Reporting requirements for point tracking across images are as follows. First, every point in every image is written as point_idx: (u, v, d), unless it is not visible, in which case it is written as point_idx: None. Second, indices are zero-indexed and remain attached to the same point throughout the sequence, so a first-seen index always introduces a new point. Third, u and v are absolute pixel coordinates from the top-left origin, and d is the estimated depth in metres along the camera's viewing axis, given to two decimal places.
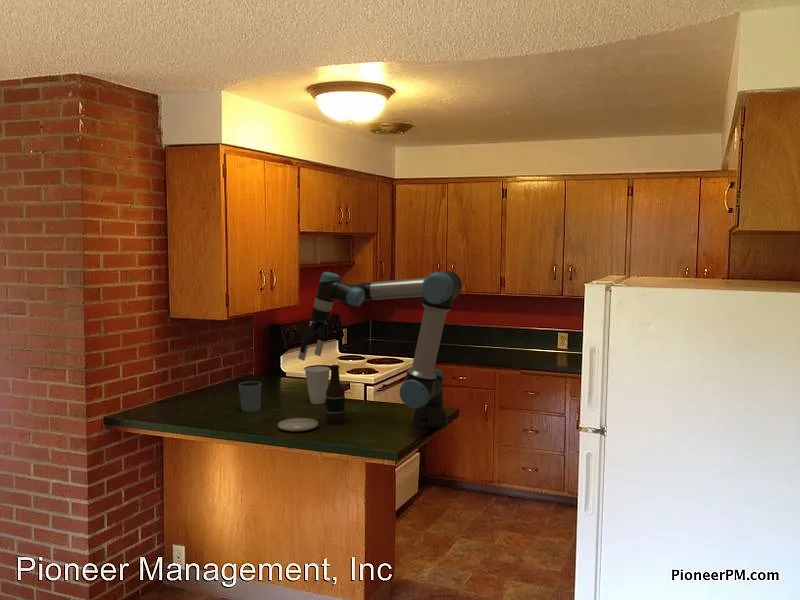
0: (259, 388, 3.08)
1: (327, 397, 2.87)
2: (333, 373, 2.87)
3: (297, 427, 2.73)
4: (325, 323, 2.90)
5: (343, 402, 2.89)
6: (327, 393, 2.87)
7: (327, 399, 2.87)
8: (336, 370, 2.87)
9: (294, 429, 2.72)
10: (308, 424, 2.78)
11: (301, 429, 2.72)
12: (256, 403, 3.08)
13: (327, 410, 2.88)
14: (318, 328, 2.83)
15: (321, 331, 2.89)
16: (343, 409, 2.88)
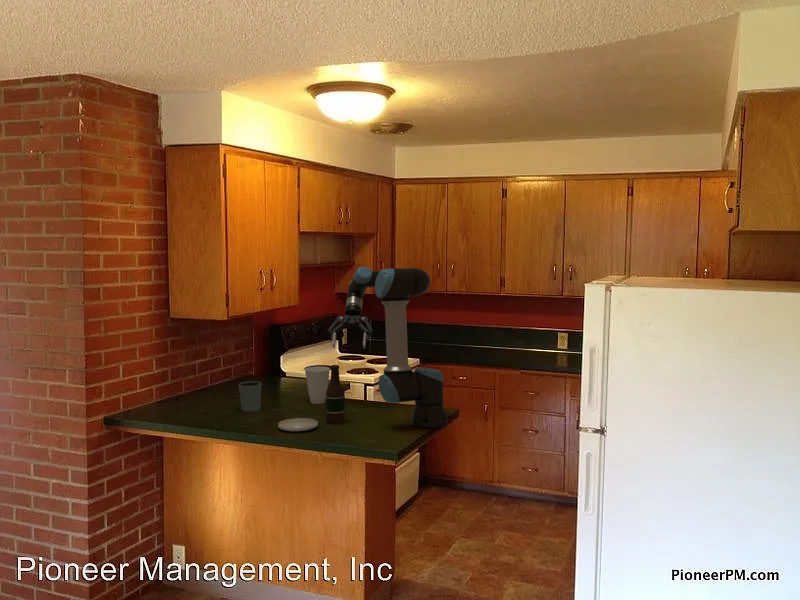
0: (259, 388, 3.08)
1: (327, 397, 2.87)
2: (333, 373, 2.87)
3: (297, 427, 2.73)
4: (363, 319, 3.11)
5: (343, 402, 2.89)
6: (327, 393, 2.87)
7: (327, 399, 2.87)
8: (336, 370, 2.87)
9: (294, 429, 2.72)
10: (308, 424, 2.78)
11: (301, 429, 2.72)
12: (256, 403, 3.08)
13: (327, 410, 2.88)
14: (346, 319, 3.10)
15: (358, 325, 3.09)
16: (343, 409, 2.88)
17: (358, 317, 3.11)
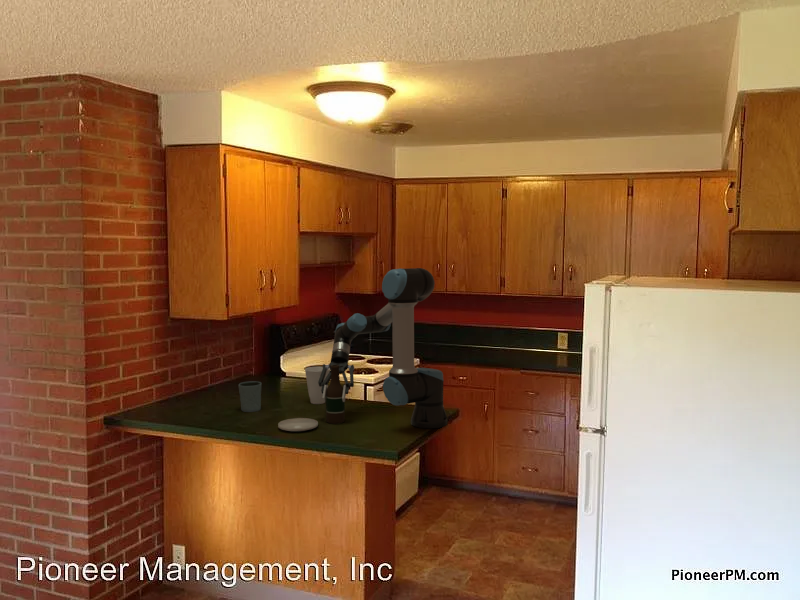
0: (259, 388, 3.08)
1: (327, 397, 2.87)
2: (333, 373, 2.87)
3: (297, 427, 2.73)
4: (349, 368, 2.95)
5: (343, 402, 2.89)
6: (327, 393, 2.87)
7: (327, 398, 2.87)
8: (336, 370, 2.87)
9: (294, 429, 2.72)
10: (308, 424, 2.78)
11: (301, 429, 2.72)
12: (256, 403, 3.08)
13: (327, 410, 2.88)
14: None
15: (342, 374, 2.93)
16: (343, 409, 2.88)
17: (345, 364, 2.95)
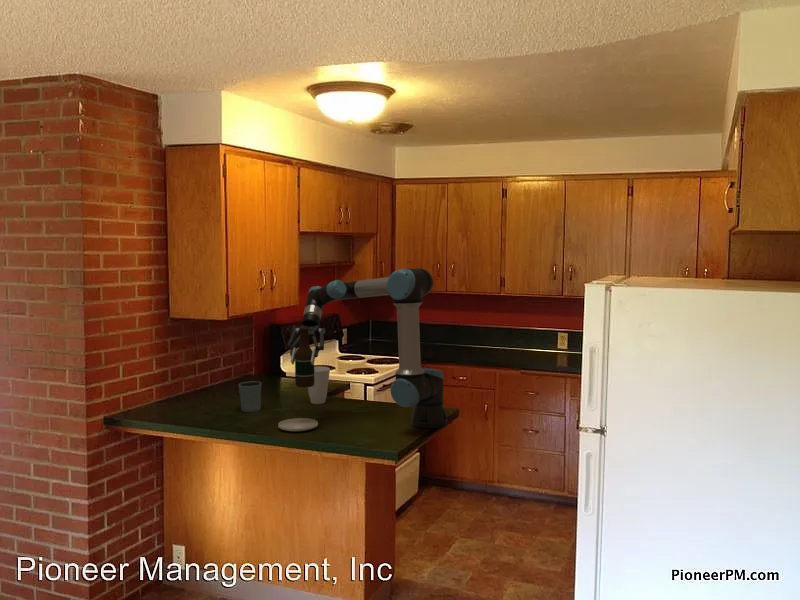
0: (259, 388, 3.08)
1: (296, 360, 2.79)
2: (302, 335, 2.79)
3: (297, 427, 2.73)
4: (320, 331, 2.87)
5: (313, 365, 2.81)
6: (296, 356, 2.79)
7: (296, 362, 2.80)
8: (305, 332, 2.79)
9: (294, 429, 2.72)
10: (308, 424, 2.78)
11: (301, 429, 2.72)
12: (256, 403, 3.08)
13: (296, 373, 2.80)
14: None
15: None
16: (312, 373, 2.81)
17: (315, 328, 2.87)
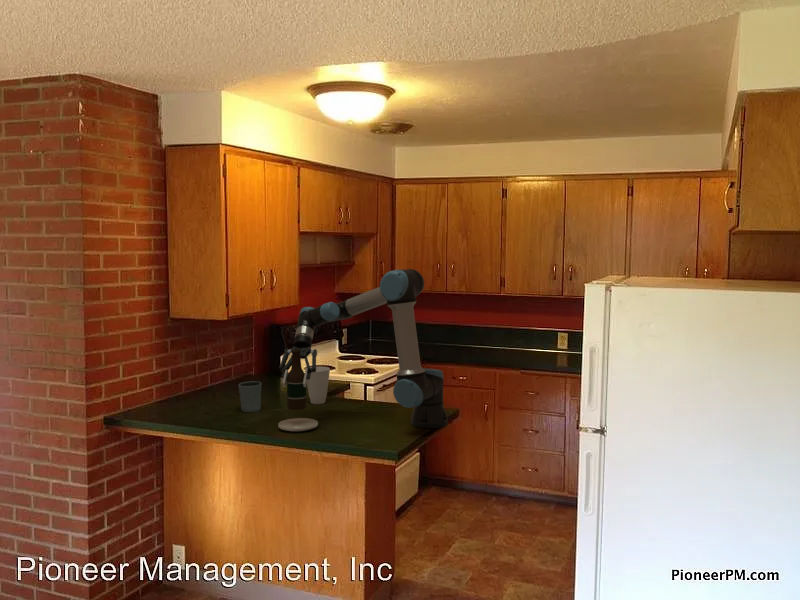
0: (259, 388, 3.08)
1: (288, 382, 2.77)
2: (294, 357, 2.76)
3: (297, 427, 2.73)
4: (312, 352, 2.84)
5: (305, 387, 2.79)
6: (288, 378, 2.77)
7: (288, 384, 2.77)
8: (297, 354, 2.77)
9: (294, 429, 2.72)
10: (308, 424, 2.78)
11: (301, 429, 2.72)
12: (256, 403, 3.08)
13: (288, 396, 2.78)
14: None
15: (304, 358, 2.83)
16: (305, 395, 2.78)
17: (307, 349, 2.85)
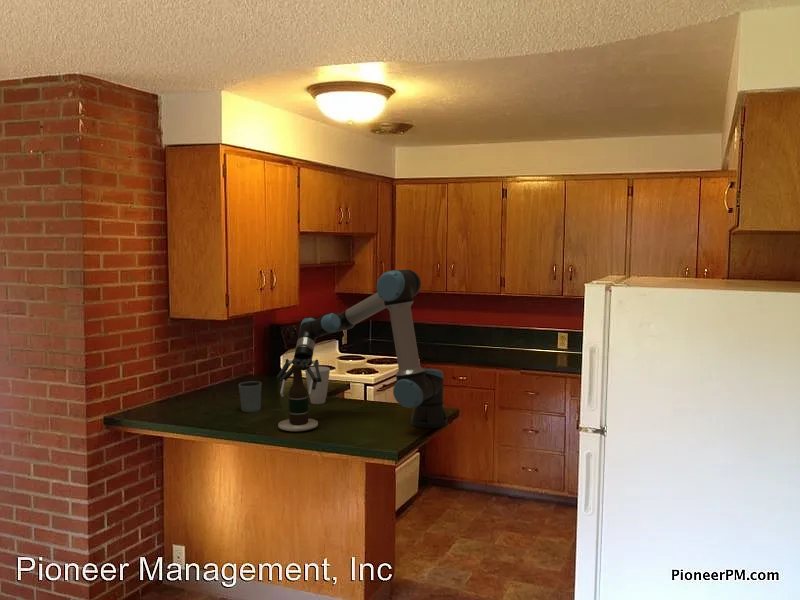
0: (259, 388, 3.08)
1: (290, 398, 2.77)
2: (295, 373, 2.76)
3: (297, 427, 2.73)
4: (313, 363, 2.85)
5: (307, 402, 2.79)
6: (290, 394, 2.77)
7: (289, 399, 2.77)
8: (299, 370, 2.76)
9: (294, 429, 2.72)
10: (308, 424, 2.78)
11: (301, 429, 2.72)
12: (256, 403, 3.08)
13: (290, 411, 2.78)
14: (295, 363, 2.84)
15: (307, 370, 2.83)
16: (306, 410, 2.79)
17: (308, 360, 2.85)
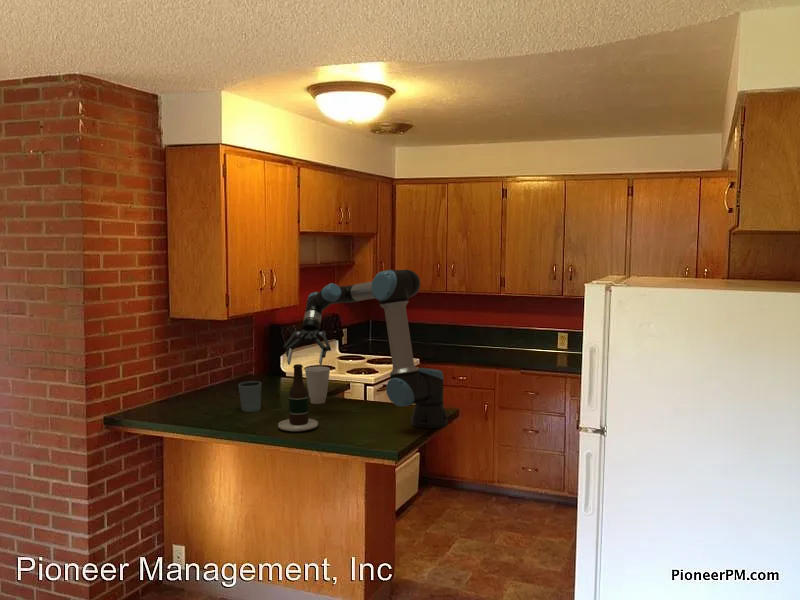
0: (259, 388, 3.08)
1: (290, 398, 2.77)
2: (296, 373, 2.77)
3: (297, 427, 2.73)
4: (321, 334, 2.97)
5: (307, 402, 2.79)
6: (290, 394, 2.77)
7: (290, 399, 2.77)
8: (299, 370, 2.77)
9: (294, 429, 2.72)
10: (308, 424, 2.78)
11: (301, 429, 2.72)
12: (256, 403, 3.08)
13: (290, 411, 2.78)
14: (303, 334, 2.96)
15: (316, 340, 2.95)
16: (307, 410, 2.79)
17: (316, 332, 2.98)
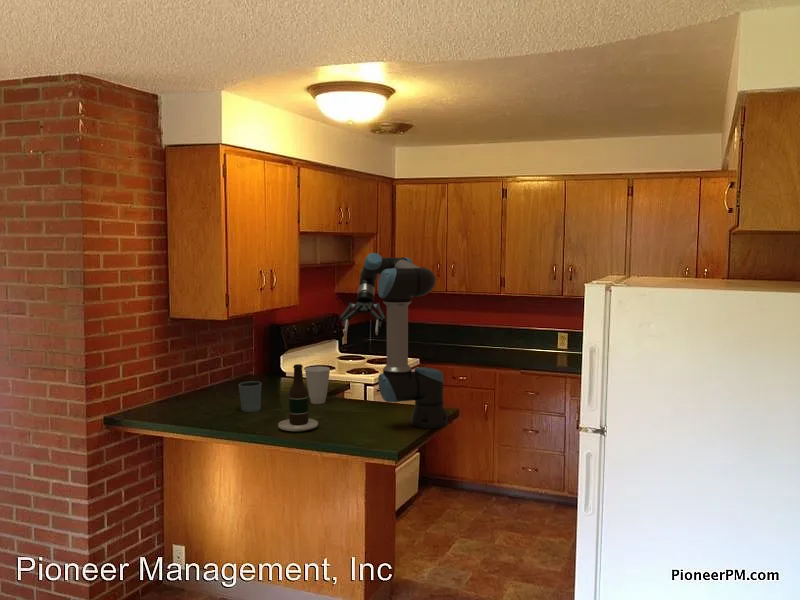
0: (259, 388, 3.08)
1: (290, 398, 2.77)
2: (296, 373, 2.77)
3: (297, 427, 2.73)
4: (375, 306, 3.09)
5: (307, 402, 2.79)
6: (290, 394, 2.77)
7: (290, 399, 2.77)
8: (299, 370, 2.77)
9: (294, 429, 2.72)
10: (308, 424, 2.78)
11: (301, 429, 2.72)
12: (256, 403, 3.08)
13: (290, 411, 2.78)
14: (358, 306, 3.08)
15: (371, 312, 3.07)
16: (307, 410, 2.79)
17: (370, 304, 3.09)
